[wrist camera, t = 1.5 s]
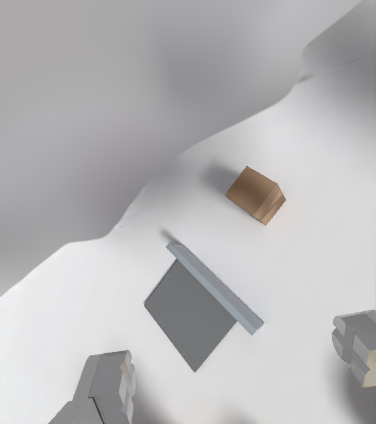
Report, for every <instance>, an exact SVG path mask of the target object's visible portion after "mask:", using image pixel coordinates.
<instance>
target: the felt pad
mask: <svg viewBox="0 0 376 424" xmlns="http://www.w3.org/2000/svg"><path fill="white" fill-rule="evenodd" d="M144 306H145V308H146V309H147V310H148V312H149V313H150V314H151V316H152V317H153V318H154V320H155V321H156V322H157V324H158V325H159V326H160V327H161V329H162V330H163V331H164V333H165V334H166V335H167V337H168V338H169V339H170V341H171V342H172V343H173V345H174V346H175V347H176V349H177V350H178V351H179V353H180V354H181V355H182V357H183V358H184V359H185V361H186V362H187V363H188V365H189V366H190V367H191V369H192V370H193V371H194V373H195V372H196V371H197V370H198V369H199V367H200V366H201V365H202V364H203V362H204V361H205V360H206V359H207V358H208V356H209V355H210V354H211V353H212V351H213V350H214V349H215V348H216V346H217V345H218V344H219V343H220V342H221V340H222V339H223V338H224V337H225V335H226V334H227V333H228V332H229V331H230V329H231V328H232V327H233V326H234V324H235V323H236V322H237V320H236V319H235V318H234V317H233V316H232V315H231V314H230V313H229V312H228V311H227V310H226V309H225V307H224V306H223V305H222V304H221V303H220V302H219V301H218V300H217V299H216V298H215V297H214V296H213V295H212V294H211V293H210V292H209V291H208V290H207V289H206V288H205V287H204V286H203V285H202V284H201V283H200V282H199V281H198V280H197V279H196V278H195V277H194V276H193V275H192V274H191V272H190V271H189V270H188V269H187V268H186V267H185V266H184V265H183V264H182V263H181V262H180V261H179V260H177V261H176V263H175V264H174V266H173V267H172V268H171V270H170V271H169V272H168V274H167V275H166V276H165V278H164V279H163V280H162V282H161V283H160V284H159V286H158V287H157V288H156V290H155V291H154V293H153V294H152V295H151V297H150V298H149V299H148V301H147V302H146V303H145V305H144Z"/></svg>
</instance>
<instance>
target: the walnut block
mask: <svg viewBox="0 0 376 424" xmlns="http://www.w3.org/2000/svg"><path fill="white" fill-rule="evenodd" d="M225 196H226V197H228V198H229V199H230V200H231V201H233V202H234V203H235V204H237V205H238V206H239V207H241V208H242V209H243V210H245V211H246V212H248V213H249V214H250V215H252V216H253V217H255V218H256V219H257V220H259V221H260V222H262V223H263V224H264V225H267V224H268V222H269V221H270V220H271V219H272V217H273V216H274V215H275V213H276V212H277V211H278V210H279V208H280V207H281V206H282V205H283V203H284V202H285V201H286V199H285V197H284V195H283V193H282V191H281V189H280V188H279V186H278V184H277V183H275V182H273V181H272V180H270V179H268V178H267V177H265V176H263V175H262V174H260V173H258V172H256V171H255V170H253V169H251V168H250V167H248V166H246V168H245V169H244V170H243V172H242V173H241V174H240V176H239V177H238V178H237V180H236V181H235V182H234V184H233V185H232V186H231V188H230V189H229V191H228V192H227V193H226V195H225Z"/></svg>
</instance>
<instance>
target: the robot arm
mask: <svg viewBox="0 0 376 424" xmlns="http://www.w3.org/2000/svg"><path fill="white" fill-rule="evenodd" d="M333 324H334V326H335V327H336V329H335V330H334V331H333V332H332V341H333V345H334V348H335V350H336V352H337V353H338V355H339V356H340V357H341V359H343V360H344V361H346V362H348V363H349V364H350V371H351V372H352V374H353V375H354V377H355V378H356V379H357V381H358V382H359V383H360V385H361V386H362V387H363V388H366V387H373V386H376V311H375V310H369V311H363V312H356V313H351V314H345V315H339V316H335V318H334V320H333ZM131 358H132V356H131V353H130V351H129V350H126V351H119V352H112V353H104V354H98V355H91V356H89V358H88V359H87V360H86V363H85V366H84V369H83V372H82V375H81V377H80V380H79V383H78V386H77V389H76V392H75V394H74V397H73V400H72V401H69V402H67V403H66V405H65V406H64V407H63V408H62V409H61V410H60V411H59V412H58V413H57V415H56V416H55V417H54V418H53V419H52V420H51V421H50V422H49V423H48V424H131V423H132V415H133V408H134V406H133V402H132V397H133V396H134V394H135V392H136V370H135V366H134V365H133V364H132V363H131Z"/></svg>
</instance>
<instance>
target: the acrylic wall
mask: <svg viewBox="0 0 376 424" xmlns="http://www.w3.org/2000/svg"><path fill="white" fill-rule="evenodd" d="M166 248H167V249H168V250H169V251H170V252H171V253H172V254H173V255H174V256H175V257H176V258H177V259H178V260H179V261H180V262H181V263H182V264H183V265H184V266H185V267H186V268H187V269H188V270H189V271H190V272H191V274H192V275H193V276H194V277H195V278H196V279H197V280H198V281H199V282H200V283H201V284H202V285H203V286H204V287H205V288H206V289H207V290H208V291H209V292H210V293H211V294H212V295H213V296H214V297H215V298H216V299H217V300H218V301H219V302H220V303H221V304H222V305H223V306H224V307H225V309H226V310H227V311H228V312H229V313H230V314H231V315H232V316H233V317H234V318H235V319H236V320H237V321H238V322H239V323H240V324H241V325H242V326H243V327H244V328H245V329H246V330H247V331H248V332H249V333H250V334H251V335H253V334H254V333H255V332H256V331H257V330H259V329H260V328H261V327H262V325H263V324H264V322H263V321H262V320H261V319H260V318H259V317H258V316H257V315H256V314H255V313H254V312H253V311H252V310H251V309H250V308H249V307H248V306H247V305H246V304H245V303H244V302H243V301H242V300H240V299H239V298H238V297H237V296H236V295H235V294H234V293H233V292H232V291H231V290H230V289H229V288H228V287H227V286H226V285H225V284H224V283H223V282H222V281H221V280H220V279H219V278H218V277H217V276H216V275H215V274H213V273H212V272H211V271H210V270H209V269H208V268H207V267H206V266H205V265H204V264H203V263H202V262H201V261H200V260H199V259H198V258H197V257H196V256H195V255H194V254H193V253H192V252H191V251H190V250H189V249H188V248H186V247H185V246H184V245H180V244H175V243H170V242H169V244H168V245H167V246H166Z"/></svg>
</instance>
